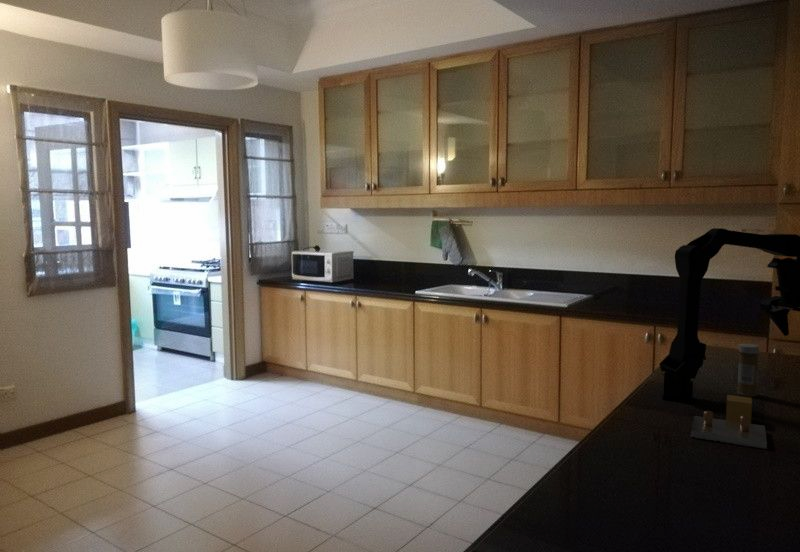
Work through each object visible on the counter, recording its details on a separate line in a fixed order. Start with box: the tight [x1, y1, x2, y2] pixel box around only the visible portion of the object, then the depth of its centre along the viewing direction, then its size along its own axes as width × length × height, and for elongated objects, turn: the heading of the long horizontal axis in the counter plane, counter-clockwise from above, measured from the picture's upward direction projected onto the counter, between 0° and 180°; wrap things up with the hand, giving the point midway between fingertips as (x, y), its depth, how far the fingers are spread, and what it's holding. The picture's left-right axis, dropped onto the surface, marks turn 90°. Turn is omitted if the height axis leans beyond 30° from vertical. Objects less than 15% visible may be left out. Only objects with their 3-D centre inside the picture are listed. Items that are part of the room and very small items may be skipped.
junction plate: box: [690, 410, 768, 450], centre depth 132 cm, size 14×11×4 cm
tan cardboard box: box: [725, 394, 753, 424], centre depth 142 cm, size 5×5×5 cm
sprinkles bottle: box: [736, 343, 760, 398], centre depth 161 cm, size 5×5×13 cm
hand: (799, 338), depth 160 cm, fingers open, 9 cm apart
